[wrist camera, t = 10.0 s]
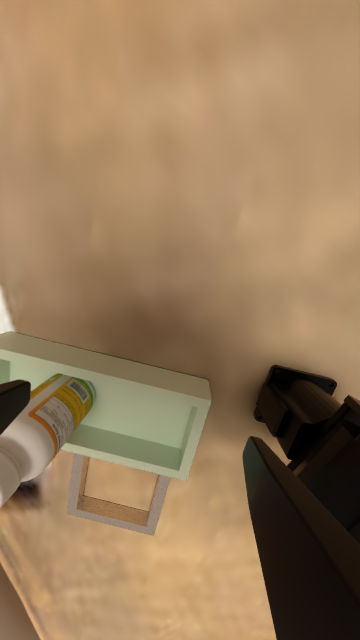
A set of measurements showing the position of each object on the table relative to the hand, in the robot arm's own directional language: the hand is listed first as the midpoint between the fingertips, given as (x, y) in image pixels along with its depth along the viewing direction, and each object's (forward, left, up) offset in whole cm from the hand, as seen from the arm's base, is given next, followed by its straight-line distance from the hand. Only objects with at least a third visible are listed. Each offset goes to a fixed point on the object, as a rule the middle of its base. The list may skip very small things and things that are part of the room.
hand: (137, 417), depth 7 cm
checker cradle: (+2, +20, -12) cm, 24 cm away
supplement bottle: (+9, +9, -11) cm, 17 cm away
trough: (+6, +9, -12) cm, 16 cm away
